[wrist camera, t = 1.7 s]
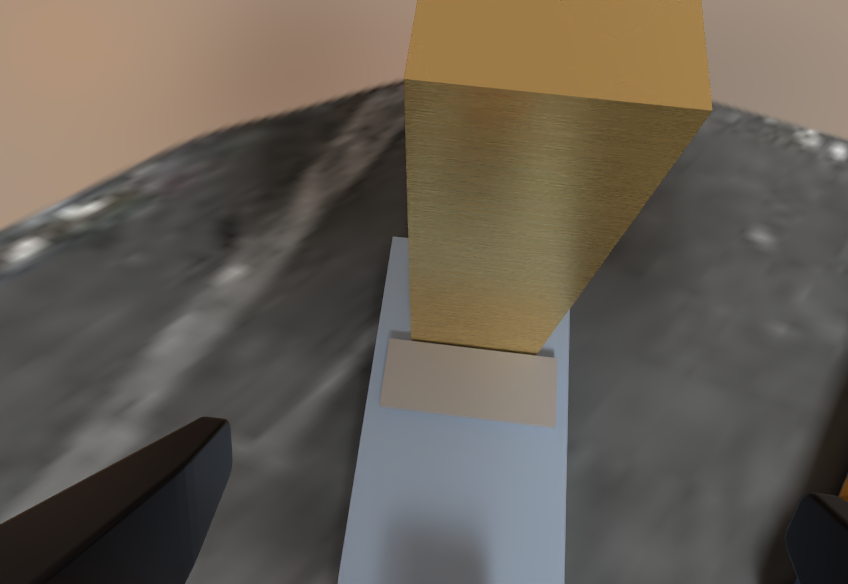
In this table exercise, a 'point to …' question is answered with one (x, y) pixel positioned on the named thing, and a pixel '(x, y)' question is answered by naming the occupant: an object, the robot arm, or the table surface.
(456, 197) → the tan tall block
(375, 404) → the plane body
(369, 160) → the table surface
